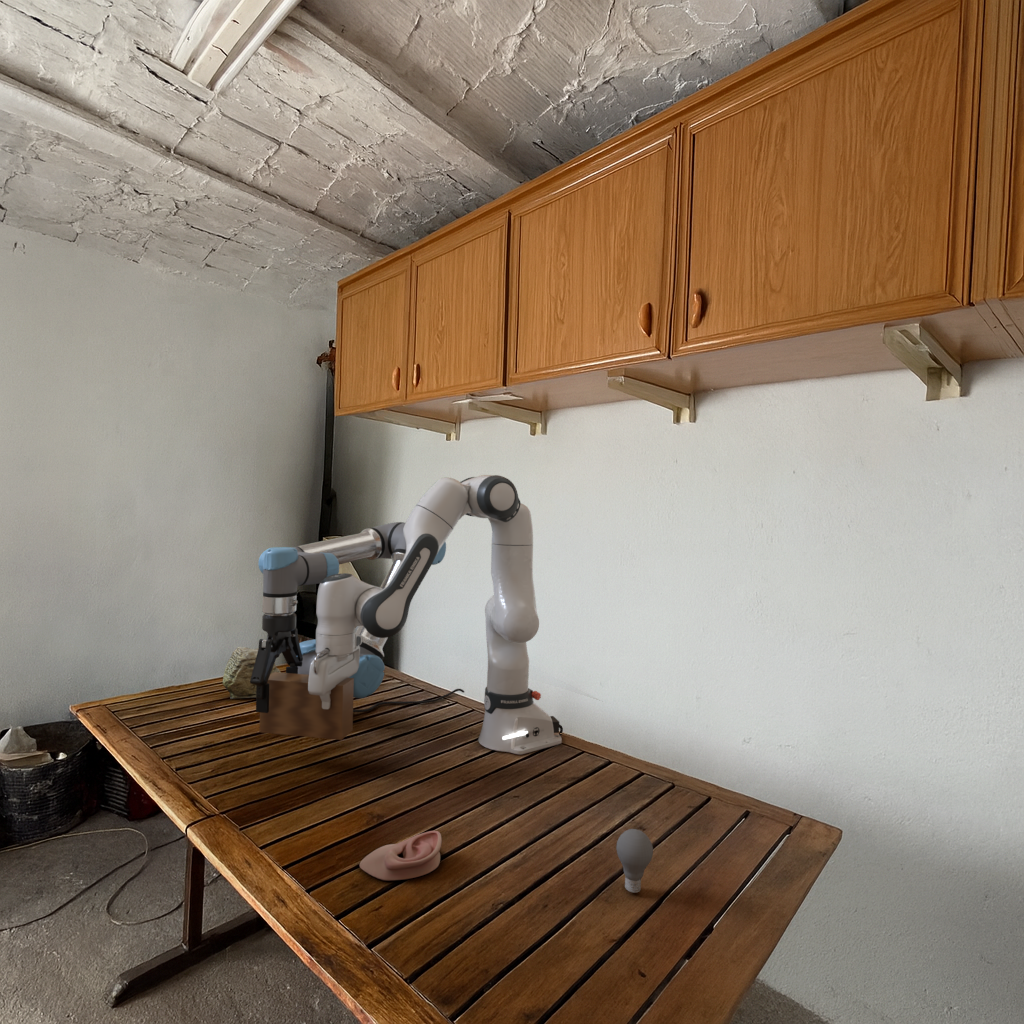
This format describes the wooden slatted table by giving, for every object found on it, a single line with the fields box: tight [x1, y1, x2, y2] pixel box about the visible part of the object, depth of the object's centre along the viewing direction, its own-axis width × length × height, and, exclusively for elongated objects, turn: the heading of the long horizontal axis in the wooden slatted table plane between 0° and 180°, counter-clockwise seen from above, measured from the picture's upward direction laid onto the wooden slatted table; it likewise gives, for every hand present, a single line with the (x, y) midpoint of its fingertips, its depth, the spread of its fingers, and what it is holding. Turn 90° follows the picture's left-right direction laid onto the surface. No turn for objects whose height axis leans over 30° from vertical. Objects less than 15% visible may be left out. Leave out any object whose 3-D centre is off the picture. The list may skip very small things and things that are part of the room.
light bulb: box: [615, 828, 654, 894], centre depth 106 cm, size 6×6×10 cm
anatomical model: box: [359, 830, 443, 882], centre depth 111 cm, size 13×4×12 cm
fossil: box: [222, 646, 282, 699], centre depth 198 cm, size 9×18×15 cm, turn 132°
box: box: [259, 671, 354, 741], centre depth 149 cm, size 20×6×12 cm, turn 81°
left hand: (277, 702), depth 150 cm, fingers open, 13 cm apart
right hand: (334, 702), depth 148 cm, fingers closed on box, 6 cm apart
